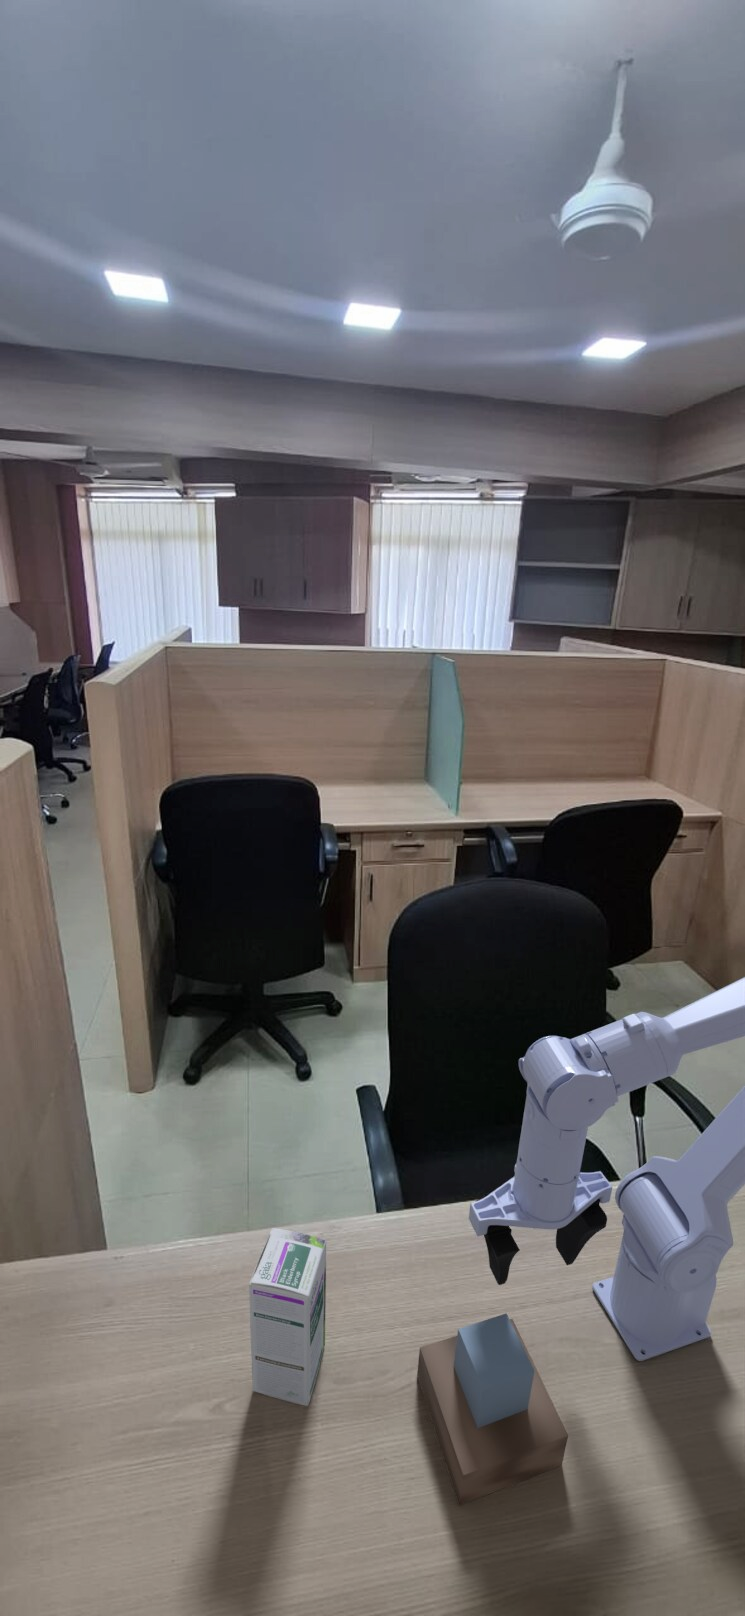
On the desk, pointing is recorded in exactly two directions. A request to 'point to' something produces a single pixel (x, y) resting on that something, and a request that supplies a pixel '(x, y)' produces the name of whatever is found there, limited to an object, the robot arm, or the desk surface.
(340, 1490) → the desk surface
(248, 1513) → the desk surface
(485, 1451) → the walnut block
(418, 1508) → the desk surface
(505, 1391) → the blue cube
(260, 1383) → the syrup box
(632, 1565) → the desk surface
